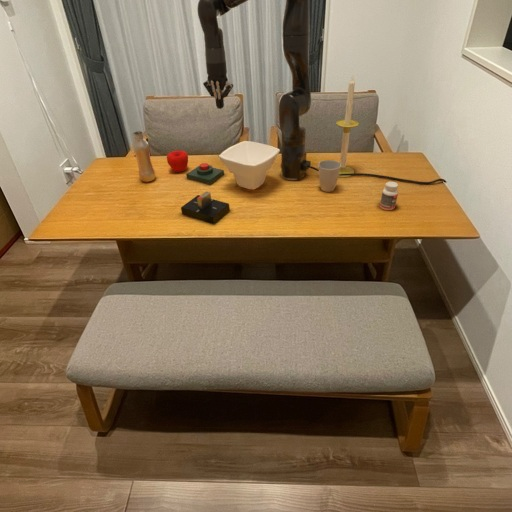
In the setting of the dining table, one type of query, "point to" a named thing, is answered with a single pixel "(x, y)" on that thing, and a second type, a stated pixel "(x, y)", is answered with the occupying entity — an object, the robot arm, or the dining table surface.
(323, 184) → the cup
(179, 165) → the apple
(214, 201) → the panel
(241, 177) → the bowl
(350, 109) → the candle
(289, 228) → the dining table surface
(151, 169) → the plastic bottle
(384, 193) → the pill bottle
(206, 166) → the button
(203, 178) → the dark grey base plate
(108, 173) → the dining table surface
